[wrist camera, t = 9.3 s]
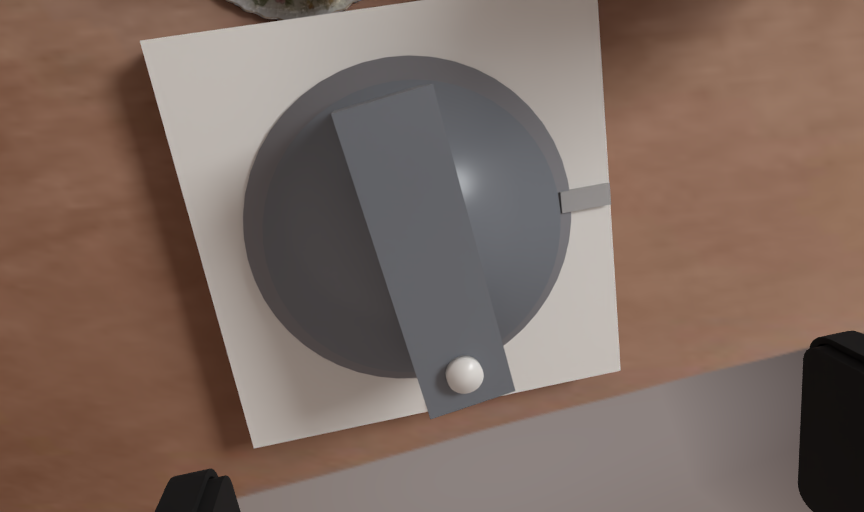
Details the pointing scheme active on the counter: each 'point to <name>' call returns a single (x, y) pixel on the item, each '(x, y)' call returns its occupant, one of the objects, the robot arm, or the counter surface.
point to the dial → (414, 234)
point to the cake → (292, 7)
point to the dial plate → (315, 91)
